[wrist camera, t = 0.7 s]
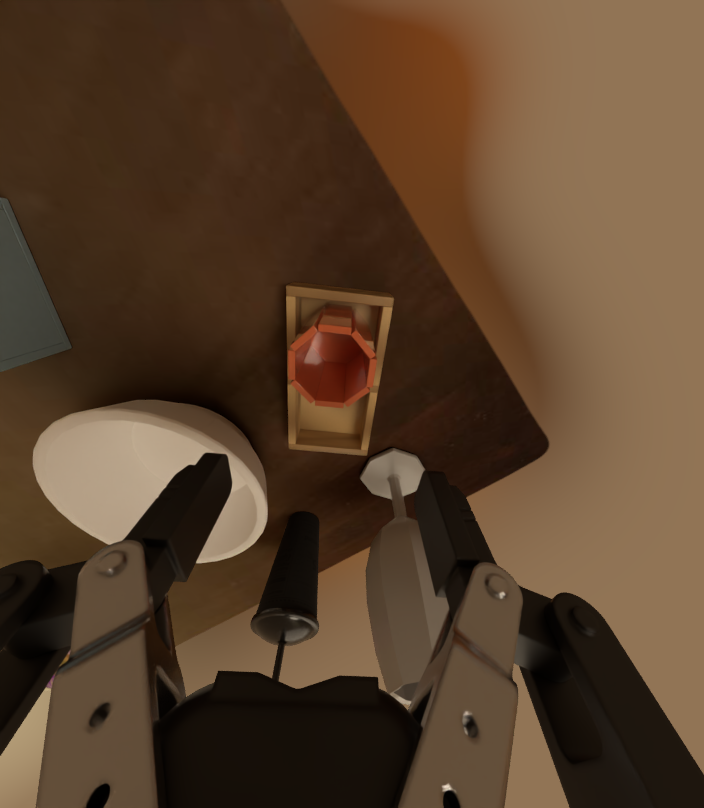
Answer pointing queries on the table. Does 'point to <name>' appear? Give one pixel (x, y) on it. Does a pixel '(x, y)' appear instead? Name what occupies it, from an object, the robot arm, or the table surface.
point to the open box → (24, 301)
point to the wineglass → (400, 580)
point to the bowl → (147, 469)
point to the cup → (333, 357)
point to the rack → (347, 424)
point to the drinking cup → (291, 589)
